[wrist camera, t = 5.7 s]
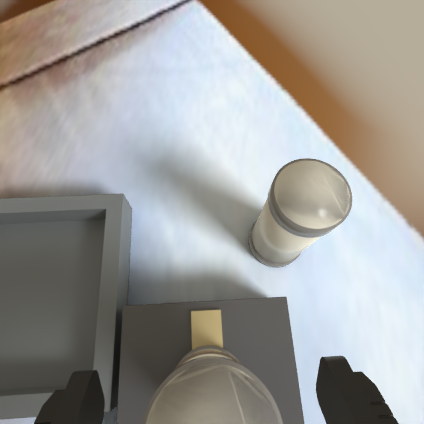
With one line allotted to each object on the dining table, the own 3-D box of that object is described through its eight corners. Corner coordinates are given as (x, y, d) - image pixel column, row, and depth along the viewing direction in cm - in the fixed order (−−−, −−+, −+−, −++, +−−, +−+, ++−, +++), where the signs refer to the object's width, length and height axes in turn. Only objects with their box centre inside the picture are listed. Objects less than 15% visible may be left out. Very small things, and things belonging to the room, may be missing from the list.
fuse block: (129, 464, 16) (111, 495, 13) (135, 309, 19) (122, 305, 16) (293, 452, 16) (313, 479, 13) (274, 301, 19) (287, 296, 16)
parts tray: (-94, 415, 17) (-142, 429, 14) (-39, 215, 21) (-69, 201, 19) (122, 400, 17) (109, 411, 15) (132, 208, 22) (123, 193, 19)
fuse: (251, 268, 20) (277, 233, 13) (246, 218, 21) (267, 159, 14) (303, 266, 20) (360, 229, 13) (295, 216, 22) (342, 157, 14)
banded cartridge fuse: (173, 430, 14) (135, 544, 7) (172, 347, 15) (140, 363, 8) (249, 425, 14) (296, 531, 7) (242, 342, 15) (275, 354, 8)
